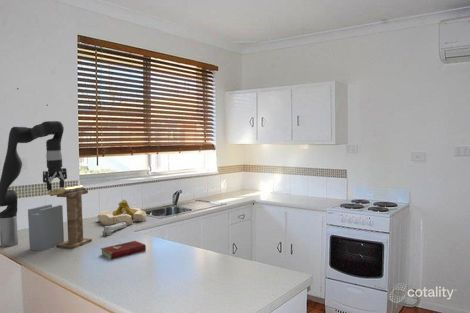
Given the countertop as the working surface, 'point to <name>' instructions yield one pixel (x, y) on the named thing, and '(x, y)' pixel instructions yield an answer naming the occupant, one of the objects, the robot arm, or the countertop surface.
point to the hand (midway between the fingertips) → (55, 188)
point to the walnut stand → (74, 219)
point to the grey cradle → (45, 227)
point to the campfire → (122, 215)
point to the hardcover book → (123, 249)
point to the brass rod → (64, 190)
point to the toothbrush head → (113, 228)
